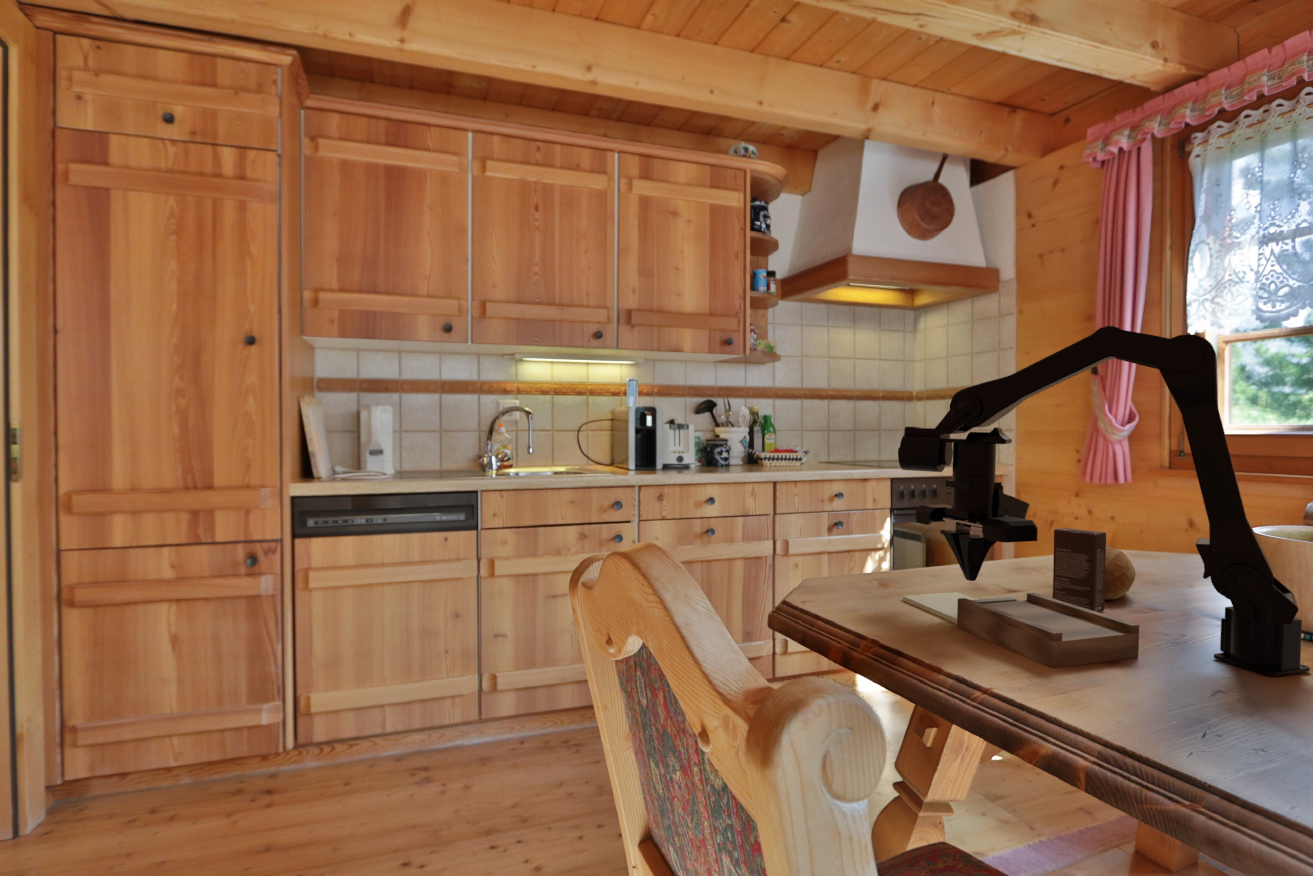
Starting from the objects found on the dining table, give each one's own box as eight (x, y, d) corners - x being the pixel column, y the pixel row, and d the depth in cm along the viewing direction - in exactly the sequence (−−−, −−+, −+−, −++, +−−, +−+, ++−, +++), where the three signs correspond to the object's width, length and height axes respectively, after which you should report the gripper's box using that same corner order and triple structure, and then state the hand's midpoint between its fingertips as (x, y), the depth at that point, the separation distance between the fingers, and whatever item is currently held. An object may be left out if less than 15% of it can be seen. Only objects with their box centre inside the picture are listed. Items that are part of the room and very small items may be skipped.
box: (1105, 611, 106) (1107, 531, 106) (1094, 616, 103) (1096, 534, 103) (1062, 602, 111) (1064, 526, 111) (1050, 607, 108) (1052, 529, 108)
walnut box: (1138, 657, 86) (1139, 624, 86) (1053, 667, 82) (1054, 633, 82) (1032, 620, 101) (1033, 592, 101) (957, 627, 97) (957, 598, 97)
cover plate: (1022, 624, 101) (1022, 599, 101) (961, 629, 98) (962, 603, 98) (956, 599, 114) (957, 576, 114) (902, 603, 112) (902, 580, 112)
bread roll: (1068, 600, 113) (1070, 550, 113) (1063, 581, 126) (1065, 536, 126) (1141, 608, 108) (1142, 556, 108) (1128, 587, 122) (1129, 541, 121)
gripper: (1071, 479, 97) (1067, 592, 97) (973, 468, 114) (970, 564, 115) (1004, 480, 93) (1001, 597, 94) (914, 469, 111) (912, 568, 112)
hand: (970, 580), depth 104 cm, fingers closed
